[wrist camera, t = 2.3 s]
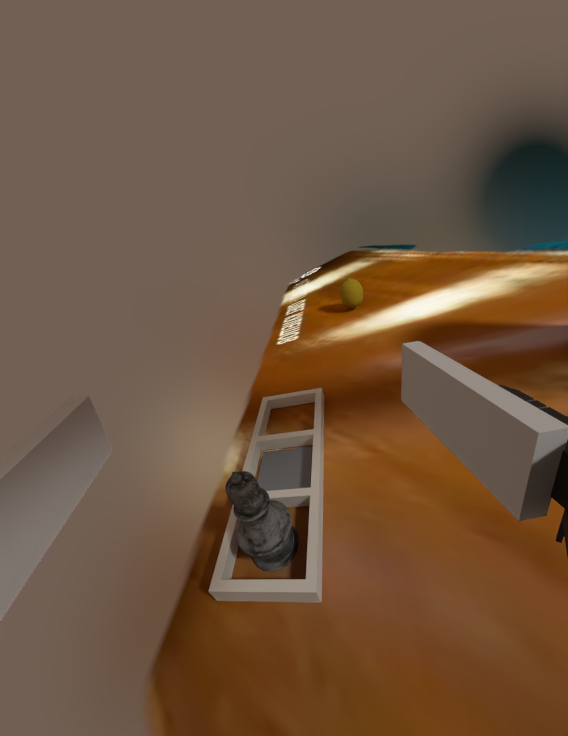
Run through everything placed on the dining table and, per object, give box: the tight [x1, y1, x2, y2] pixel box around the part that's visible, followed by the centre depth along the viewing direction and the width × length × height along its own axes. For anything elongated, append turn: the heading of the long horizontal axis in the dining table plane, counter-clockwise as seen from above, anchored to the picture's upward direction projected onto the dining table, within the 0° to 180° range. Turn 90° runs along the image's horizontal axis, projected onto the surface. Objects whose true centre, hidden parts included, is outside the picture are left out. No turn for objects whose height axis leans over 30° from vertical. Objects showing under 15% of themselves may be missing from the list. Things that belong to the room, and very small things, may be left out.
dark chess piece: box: [226, 471, 298, 572], centre depth 30 cm, size 6×6×12 cm
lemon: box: [340, 278, 363, 309], centre depth 76 cm, size 6×6×8 cm
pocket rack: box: [208, 388, 324, 603], centre depth 40 cm, size 29×10×2 cm, turn 173°
